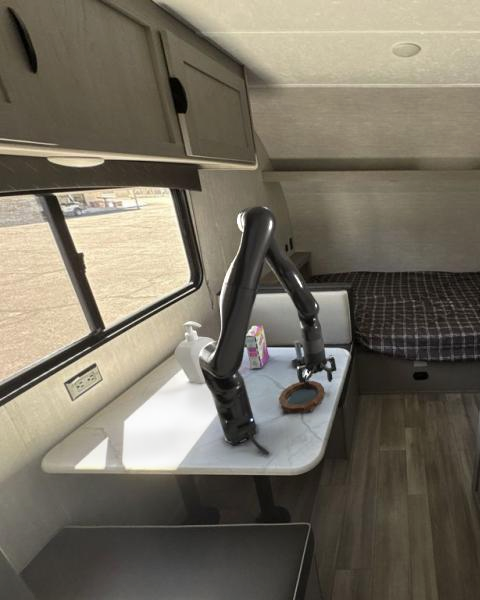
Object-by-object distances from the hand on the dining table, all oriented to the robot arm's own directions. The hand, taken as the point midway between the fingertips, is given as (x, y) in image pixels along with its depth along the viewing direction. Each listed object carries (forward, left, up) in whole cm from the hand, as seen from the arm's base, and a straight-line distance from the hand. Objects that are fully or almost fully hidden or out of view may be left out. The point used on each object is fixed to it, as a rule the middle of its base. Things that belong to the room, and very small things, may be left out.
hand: (319, 384), depth 119 cm
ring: (0, +7, -3) cm, 7 cm away
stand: (+26, 0, -4) cm, 27 cm away
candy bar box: (+38, +15, -4) cm, 41 cm away
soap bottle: (+40, +37, -4) cm, 55 cm away
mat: (0, +7, -4) cm, 8 cm away
